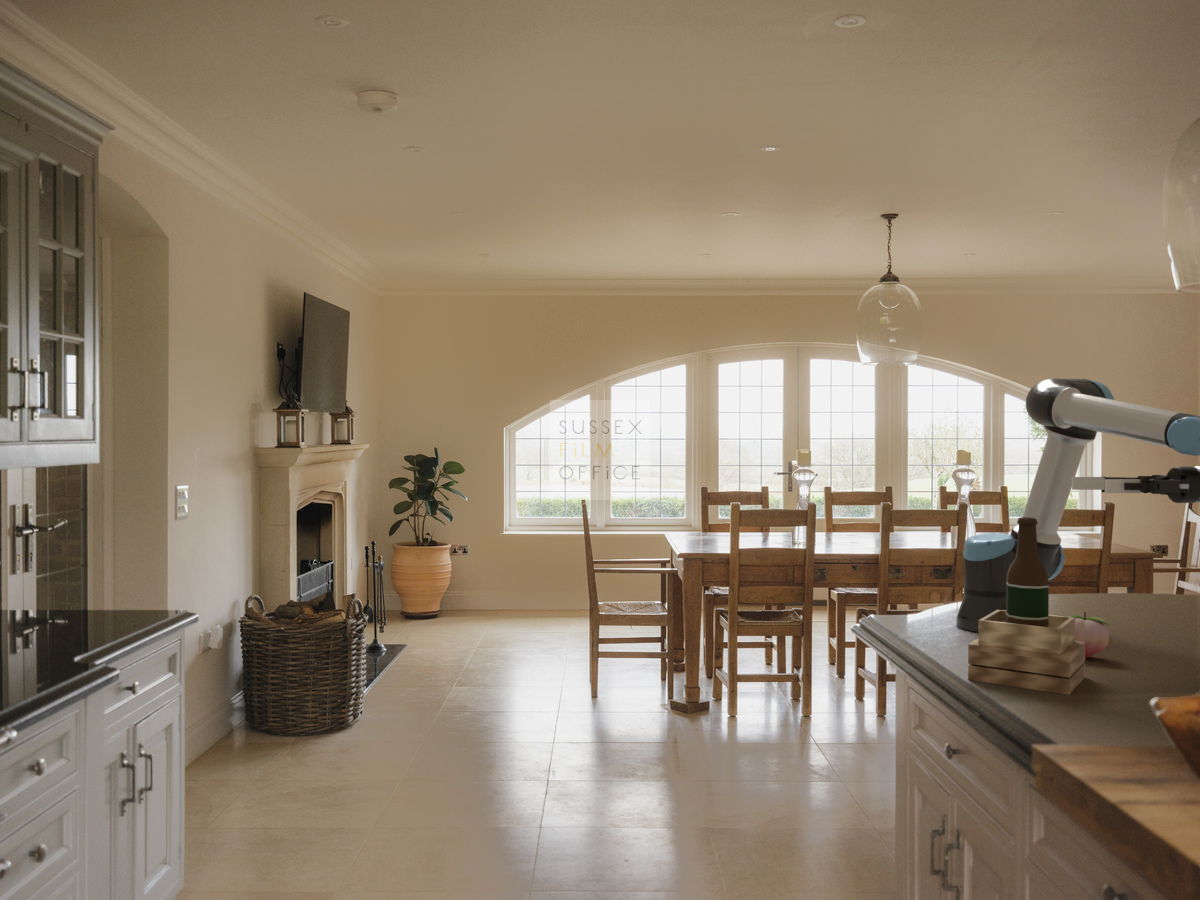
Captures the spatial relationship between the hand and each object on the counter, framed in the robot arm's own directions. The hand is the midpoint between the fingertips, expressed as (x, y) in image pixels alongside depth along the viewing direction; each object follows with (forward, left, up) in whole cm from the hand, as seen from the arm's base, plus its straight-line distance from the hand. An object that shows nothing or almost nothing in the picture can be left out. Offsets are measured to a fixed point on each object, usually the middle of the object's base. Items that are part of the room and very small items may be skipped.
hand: (1088, 484), depth 188 cm
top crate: (-8, -16, -31) cm, 36 cm away
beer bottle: (-8, -16, -30) cm, 35 cm away
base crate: (-8, -16, -38) cm, 42 cm away
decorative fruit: (-2, +11, -38) cm, 40 cm away
